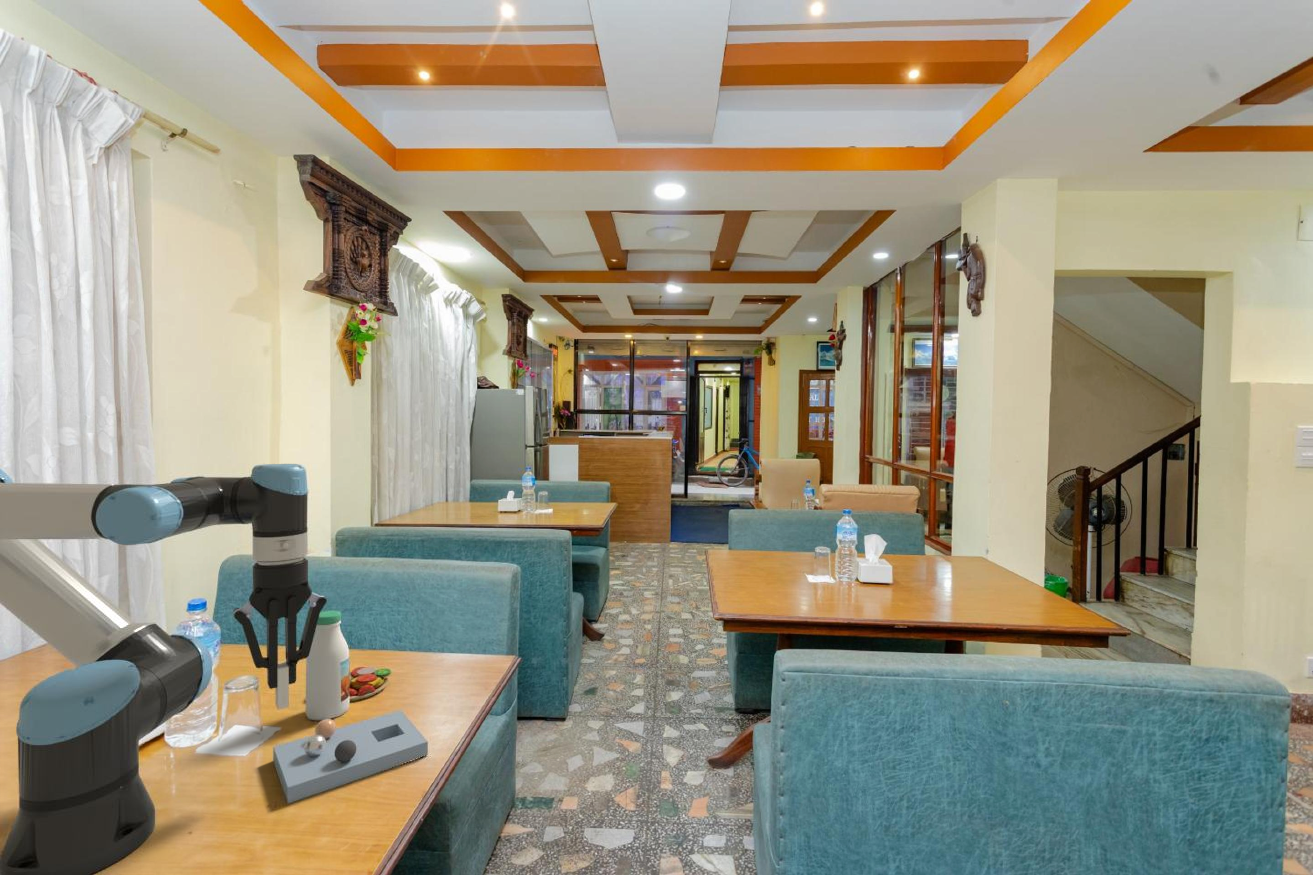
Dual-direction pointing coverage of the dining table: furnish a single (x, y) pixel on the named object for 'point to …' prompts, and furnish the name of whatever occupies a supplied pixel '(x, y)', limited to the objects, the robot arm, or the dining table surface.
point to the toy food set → (367, 682)
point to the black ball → (345, 751)
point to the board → (375, 751)
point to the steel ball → (315, 745)
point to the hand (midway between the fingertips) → (282, 704)
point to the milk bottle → (328, 670)
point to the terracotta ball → (325, 728)
